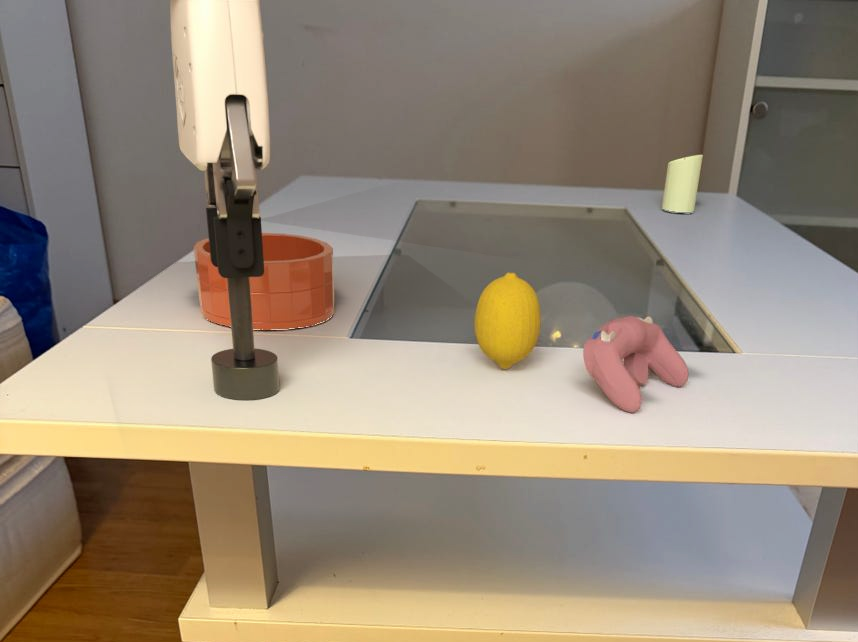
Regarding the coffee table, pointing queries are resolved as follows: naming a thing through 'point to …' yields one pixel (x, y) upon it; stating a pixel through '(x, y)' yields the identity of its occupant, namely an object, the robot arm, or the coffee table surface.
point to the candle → (682, 184)
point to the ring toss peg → (244, 353)
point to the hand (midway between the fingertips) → (237, 268)
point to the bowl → (274, 284)
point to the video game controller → (631, 359)
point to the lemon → (507, 320)
